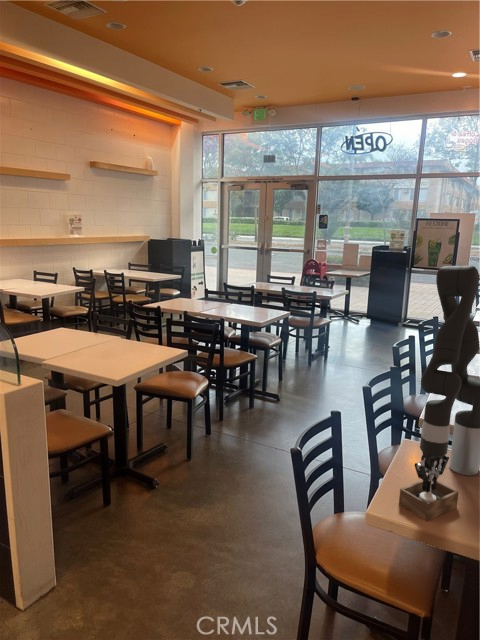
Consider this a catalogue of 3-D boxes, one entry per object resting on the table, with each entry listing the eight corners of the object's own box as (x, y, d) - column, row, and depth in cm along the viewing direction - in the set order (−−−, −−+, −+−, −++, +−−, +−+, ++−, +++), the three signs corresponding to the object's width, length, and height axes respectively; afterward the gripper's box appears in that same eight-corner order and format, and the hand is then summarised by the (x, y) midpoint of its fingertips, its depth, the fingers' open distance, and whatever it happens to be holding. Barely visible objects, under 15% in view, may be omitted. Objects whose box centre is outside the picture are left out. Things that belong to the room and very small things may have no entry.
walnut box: (428, 491, 147) (429, 476, 146) (456, 507, 139) (458, 492, 138) (398, 503, 140) (400, 488, 139) (427, 521, 132) (429, 505, 131)
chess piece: (438, 504, 136) (441, 473, 134) (420, 502, 137) (423, 471, 135) (434, 495, 141) (438, 465, 139) (417, 493, 142) (421, 463, 140)
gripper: (438, 426, 142) (432, 478, 145) (408, 436, 135) (403, 490, 138) (460, 436, 136) (454, 489, 139) (431, 446, 129) (424, 502, 132)
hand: (428, 489), depth 139 cm, fingers closed on chess piece
